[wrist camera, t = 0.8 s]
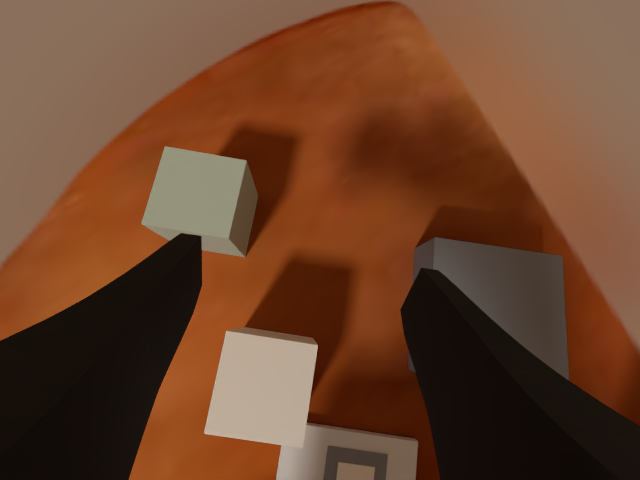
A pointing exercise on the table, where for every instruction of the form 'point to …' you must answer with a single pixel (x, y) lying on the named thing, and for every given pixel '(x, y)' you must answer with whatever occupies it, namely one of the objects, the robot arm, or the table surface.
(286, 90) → the table surface
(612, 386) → the table surface
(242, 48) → the table surface
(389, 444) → the tile
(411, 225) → the table surface
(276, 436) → the cream block
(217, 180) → the sage block
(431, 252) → the gray block
